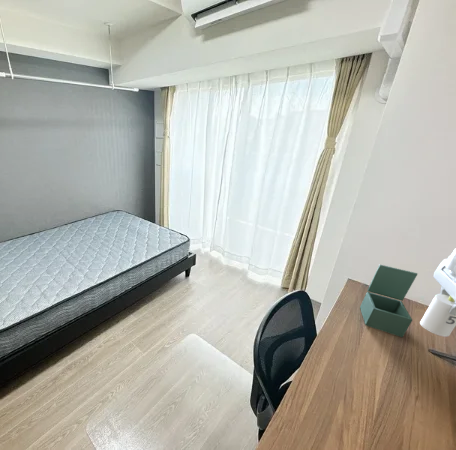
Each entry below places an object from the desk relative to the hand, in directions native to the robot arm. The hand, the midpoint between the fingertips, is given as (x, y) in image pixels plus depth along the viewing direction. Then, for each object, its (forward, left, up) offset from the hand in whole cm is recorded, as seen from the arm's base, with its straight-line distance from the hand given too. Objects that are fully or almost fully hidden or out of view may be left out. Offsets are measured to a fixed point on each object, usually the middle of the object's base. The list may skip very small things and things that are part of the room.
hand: (447, 307), depth 71 cm
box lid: (+3, -30, -10) cm, 31 cm away
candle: (0, 0, -8) cm, 8 cm away
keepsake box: (+3, -24, -26) cm, 36 cm away
